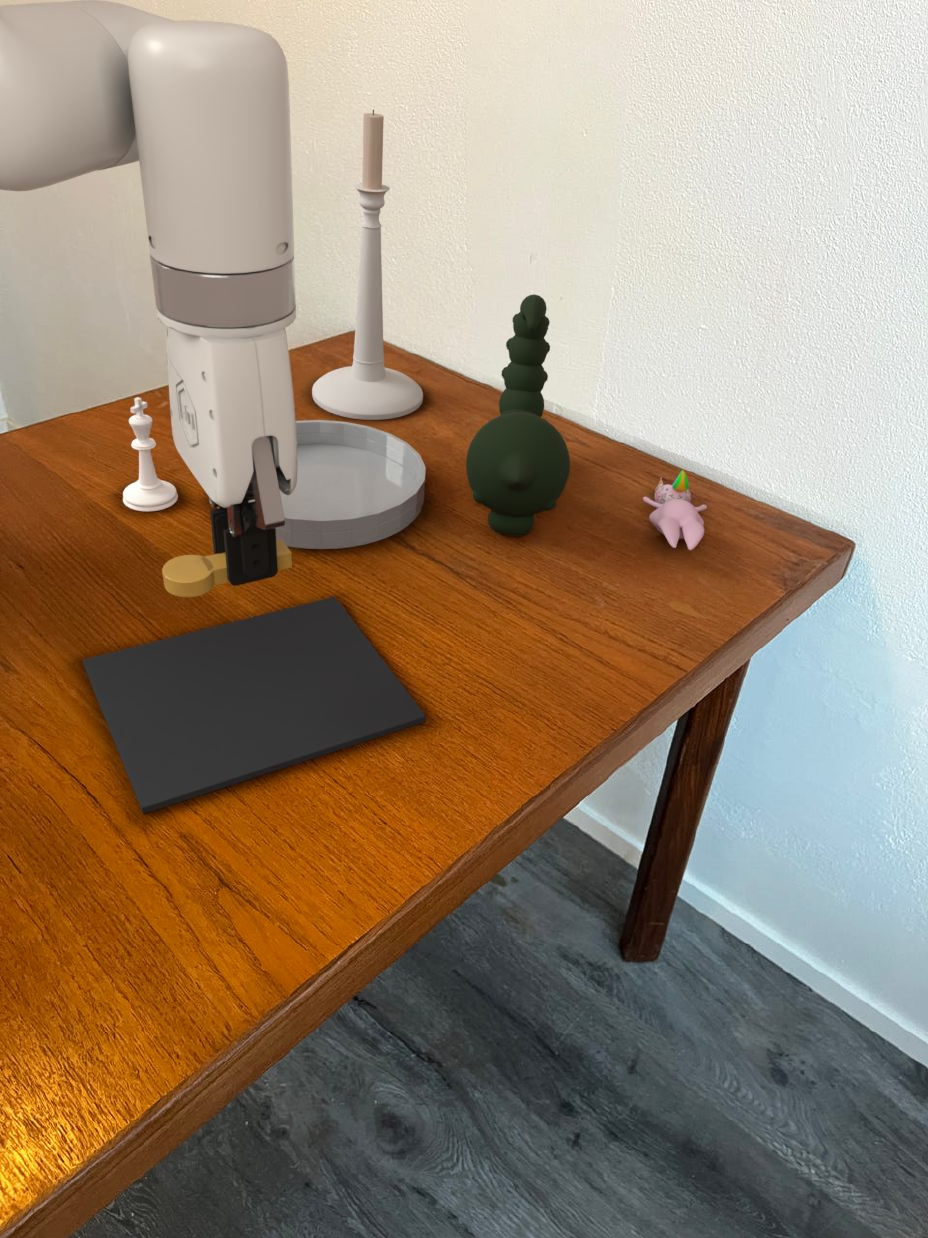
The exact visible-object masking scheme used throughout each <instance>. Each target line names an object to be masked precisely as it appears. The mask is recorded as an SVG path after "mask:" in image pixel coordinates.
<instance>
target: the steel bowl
mask: <svg viewBox="0 0 928 1238" xmlns="http://www.w3.org/2000/svg"><path fill="white" fill-rule="evenodd" d="M296 434H297V458H298V463H297V484H296V487H295V489H294V491H293V492H292V493H291V494H290V495H285V494H284V493H283V492H282V491H281V490H280V489H279V490H280V496H281V501H282V507H283V512H284V518H285V525H284V526H280V527H276V541H277V540H282V541H283V542H284V543H285V545H286V546H287V547H288V548H296V549H307V550H338V549H347V548H353V547H359V546H364V545H368V544H371V543H375V542H379V541H381V540H382V541H383V540H384V539H388V538H390V537H391V536H393V535H395V534H398V533H400V532H401V531H403V530H404V529H406V528H407V527H408V526H410V524H412V523H413V522H414V521H415V520H416V518H418V516H419V515H420V513H421V511H422V509H423V507H424V503H425V490H426V489H425V488H426V472H427V467H426V464H425V463H424V460H423V458H422V456H421V454H420V453H419V452H418V451H417V450H416V449H415V448H414V447H413V446H411V445H410V444H409V443H408V442H407V441H405V440H403V439H401V438H399V437H397V436H395V435H394V434H392V433H390V432H388V431H387V432H386V431H383V430H381V429H378V428H375V427H372V426H369V425H364V424H358V423H355V422H349V421H340V420H339V421H338V420H327V419H308V420H307V419H306V420H296ZM254 501H255V499H254V500H249V502H254ZM216 509H219V507H216Z"/></svg>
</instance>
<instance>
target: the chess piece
mask: <svg viewBox="0 0 928 1238" xmlns="http://www.w3.org/2000/svg"><path fill="white" fill-rule="evenodd" d="M133 401H134V405H133V406H131V407H130V408H129V410H130V413H131V414H134V415H131V416H130V417H129V418H128V424H129V426H130V428H131V429H132V431H133V434H134V435H135V438H134V439H133V440H132V441H131V444H130V446H131V448H132V449H133V450H135V451H138V479H137V480H136V481H134V482H132V483H130V484H128V485H127V486H126V487H125V488H124V490H123V491H122V502H123V505H125V507H127V508H128V509H131V510H134V511H137V512H148V513H149V512H157V511H163V510H165V509H167V508H170V507H172V506H173V505H174V504H175V503H176V502H177V501H178V498H179V494H178V492H177V488H176V486H175V485H173V484H172V483H171V482H168V481H166V480H164V479H163V480H162V479H160V478H159V477H158V476H157V471H156V468H155V465H154V461H153V456H152V452H151V450H152V449H155V447H156V446H157V443H156V440H155V439H154V438H152V437H150V435H151V428H152V425H153V418H152V417H151V415H148V414H145V413H144V410H145V409H147V408H148V402H147V401H144V400H142V397H139V396H137V397H135V398H133Z"/></svg>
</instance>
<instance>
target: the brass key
mask: <svg viewBox="0 0 928 1238" xmlns="http://www.w3.org/2000/svg"><path fill="white" fill-rule="evenodd" d="M276 546H277V566H278V572H279V571H284V570H287V569H292V568H293V556H292V551H291V550H290V549H289V546H286V545H285V543H284V542H283V541H282V540H277V541H276ZM161 572H162V580H163V588H165V590H166V591H167V592H168V593H169V594H170V595H173V596H175V597H179V598H195V597H200V596H202V595H205V594H207V593H209V592H210V591H212V589H214V587H215V586H220V585H223V584H228V583H230V582H229V580H228V578H227V567H226V555H225V552H224V553H220V554H214V553H213V554H210V555H206V556H204V555H203V556H202V555H199V554H184V555H179V556H176V557H173V558H171V559H169V560H167V561H166V562H165V563H164V564H163V566H162V570H161Z"/></svg>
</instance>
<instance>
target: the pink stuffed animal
mask: <svg viewBox="0 0 928 1238" xmlns="http://www.w3.org/2000/svg"><path fill="white" fill-rule="evenodd" d="M689 487H690V486H689V479H688V474H687V473H686V471H685V470H681V471H680V472H679V474H678V476H677V477H676V479H675V480H674V481H673V483H672V484H667V483H666V484H664V481H663V480H662V477H660V478H659V482H658V484H657V485H656V487H655V489H654V490H653V491H654V500H653V499H651V498H649V497H648V496H643V497H642V501H643V503H646V504H648V505H650V506H652V507H653V508H655V510H653V511H652V512H651V513H650V514H649V515H648V516H649V517H648V520H649V521H650V523H651V524H652V525H653V526H654V527H655V528H656V530H658V532H660V533H661V534H662V535H663V536H664V537H665V538H666V541H667V543H668V545H670V547H671V548H673V549H676V548H677V545H678V542H679V540H684V541H685V543H686V547H687V549H688V551H693V550H694V549H695V548H696V547H697V546H698V545H699V543H700V542H701V540H702V539H703V537H704V535H705V527H704V525H705V522H704V519H703V517H702V516H701V515H700V513H699V512H702V511H703V512H704V511H705V510H707V509H708V506H707V505H706V504H700V505H698V506H695V505H693V503H691V501H692V494H691V491H690V489H689Z"/></svg>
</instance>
